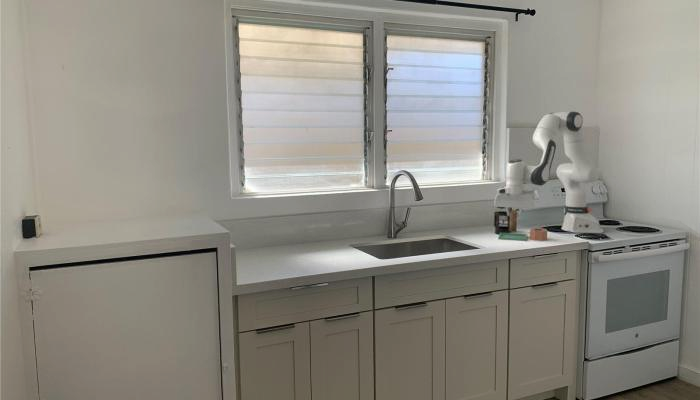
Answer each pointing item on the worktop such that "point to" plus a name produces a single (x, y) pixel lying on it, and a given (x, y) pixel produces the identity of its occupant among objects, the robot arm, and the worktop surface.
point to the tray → (512, 236)
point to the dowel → (513, 220)
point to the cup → (538, 234)
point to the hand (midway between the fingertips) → (513, 215)
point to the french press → (501, 222)
